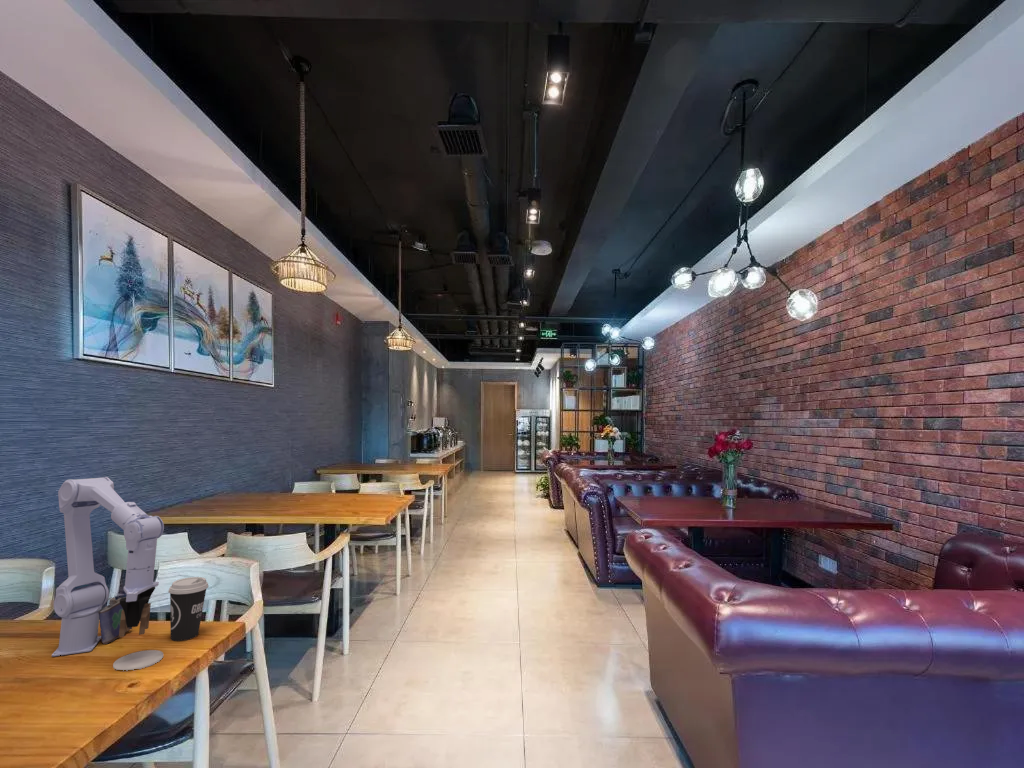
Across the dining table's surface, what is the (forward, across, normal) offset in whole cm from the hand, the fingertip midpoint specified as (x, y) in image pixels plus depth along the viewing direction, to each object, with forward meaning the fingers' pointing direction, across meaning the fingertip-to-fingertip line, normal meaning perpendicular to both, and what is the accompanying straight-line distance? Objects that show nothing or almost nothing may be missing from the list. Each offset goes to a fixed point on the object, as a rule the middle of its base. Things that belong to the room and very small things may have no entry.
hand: (135, 622), depth 122 cm
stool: (+2, 0, 0) cm, 2 cm away
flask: (+9, +19, +7) cm, 23 cm away
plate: (+10, 0, -1) cm, 10 cm away
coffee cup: (+10, +13, -9) cm, 19 cm away
